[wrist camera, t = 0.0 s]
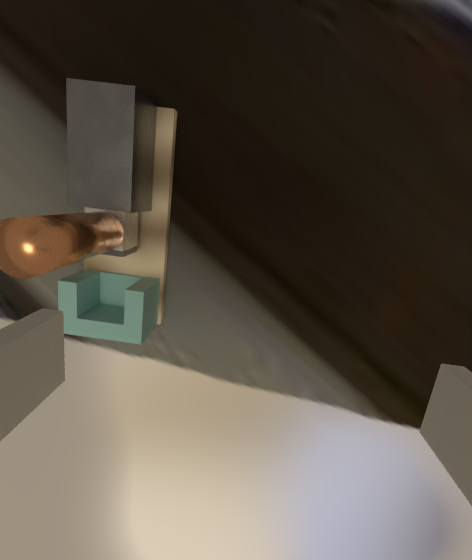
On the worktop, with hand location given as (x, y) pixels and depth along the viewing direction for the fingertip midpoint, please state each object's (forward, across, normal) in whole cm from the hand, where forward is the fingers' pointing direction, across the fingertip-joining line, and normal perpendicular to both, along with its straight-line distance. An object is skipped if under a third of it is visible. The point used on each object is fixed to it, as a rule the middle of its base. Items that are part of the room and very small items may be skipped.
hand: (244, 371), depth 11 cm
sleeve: (+27, -15, +9) cm, 32 cm away
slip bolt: (+26, -15, +6) cm, 30 cm away
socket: (+27, -15, -8) cm, 32 cm away
